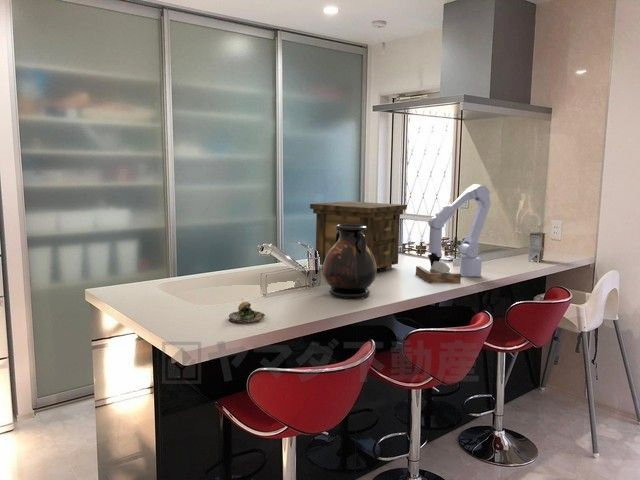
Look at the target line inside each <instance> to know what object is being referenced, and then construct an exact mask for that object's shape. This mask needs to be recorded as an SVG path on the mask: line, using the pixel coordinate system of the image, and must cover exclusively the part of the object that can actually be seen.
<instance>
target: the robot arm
mask: <svg viewBox="0 0 640 480" xmlns="http://www.w3.org/2000/svg"><path fill="white" fill-rule="evenodd" d="M490 194H491V191H490V189H489V188H488V187H487V185H486V184H485V185H484V184H476V183H475V184H471V185H470V186H469V187H467V188H466V189H465V191H463V192H462V193H461V195H459V196H458V197H457V199H455V200H454V202H453V203H451V204H450V205H449V204H447V205H444V206H442V209H441V210H439V211H438V212H436V213H435V215H434V216H432V217H430V218H429V221H428V222H427V223H428V226H429V236H428V237H429V239H428V240H429V242H428V248H427V250H425V251H426V253H429V254H427V257H428V258H429V262H430V268H431V267H432V264H433V262H434V261H441V258H442V257H443V253H442V240H443V239H442V236H443V228H444V227H445V223H447V222H448V221H449V220H450V219H451V218H453V216H455V214H456V211H457V210H458V209H459V208H461V207H462V206H463V205H464V204H465V203H466V202H467V201H469V200H474V201H475V203H476V204H477V208H476V211H475V214H474V216H473V219H472V222H471V226H470V228H469V230H468V234H467V236H466V237H464V239H463V242H461V244H460V245H459V248H458V249H459V252H460V268H459V271H458V272H456V273H460V274H461V277H463V278H466V277H482V259H481V257H477V256H478V255H479V253H480V249H479V247H480V241H479V238H480V236H481V233H482V231H483V228H484V224H485V222H486V220H487V217H488V214H489V210H490V209H491V204H492V202H491V197H490Z"/></svg>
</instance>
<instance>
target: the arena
mask: <svg viewBox="0 0 640 480" xmlns="http://www.w3.org/2000/svg"><path fill="white" fill-rule="evenodd" d="M415 275H416V276H418V277H419V278H421V279H422V280H423V281H425V282H427V283H428V284H430V283H431V284H436V283H437V284H441V283H442V284H443V283H445V284H447V283H448V284H450V283H452V284H454V283H455V284H457V283H458V284H459V283H461V280H462V276H461V274H460V273H457V272H450V271H449V272H440V273H431V272H430V270H427V269H426V268H424V267H422V266H420V265H416V267H415Z"/></svg>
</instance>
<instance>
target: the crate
mask: <svg viewBox="0 0 640 480" xmlns="http://www.w3.org/2000/svg"><path fill="white" fill-rule="evenodd" d="M309 209H310V210H312V211H313V214H316V216H315V217H316V218H315V220H316V225H315V231H316V232H315V251H316V250H317V251H318V254H319V257H320V265H319V266H321V269H322V270H323V264H324V260H325V257H326V255H327V253H328V251H329V250H330V249H331V248H332V247H333V245H334V244H335V239H336V234H337V232H338V230H337V229H335V226H336V225H340V224H357V225H364V226H366V227H367V229H366V230H364V231H363V232H362V234H363V235H364V236H365V238H366V244H367V247H368V248H369V249H370V250H371V252H372V253H373V255H374V258H375V261H376V267H377V269H381V268H385V269H384V270H389V269H388V268H390V269H392V268H393V266H394V265H398V264H399V252H400V251H399V250H400V247H399V246H400V224H401V223H400V221H401V215H404V211H406V210H407V204H400V203H399V204H396V203H382V202H381V203H380V202H364V201H352V200H351V201H350V200H349V201H336V202H333V201H332V202H319V203H310V204H309Z"/></svg>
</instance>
